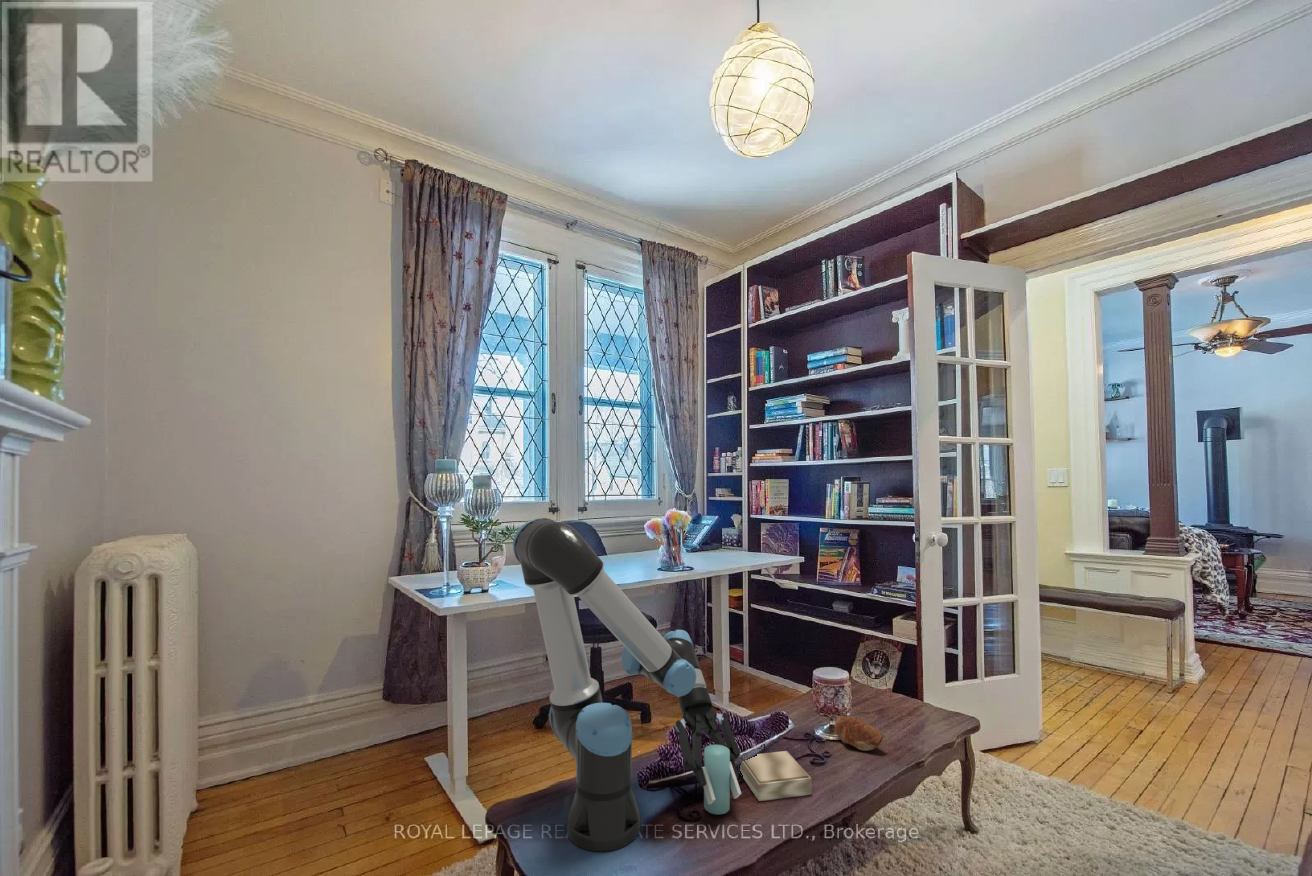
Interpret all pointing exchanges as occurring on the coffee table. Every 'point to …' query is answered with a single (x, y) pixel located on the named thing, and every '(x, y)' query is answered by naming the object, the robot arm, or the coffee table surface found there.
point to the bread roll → (858, 733)
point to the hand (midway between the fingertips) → (724, 798)
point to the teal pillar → (718, 777)
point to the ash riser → (775, 776)
